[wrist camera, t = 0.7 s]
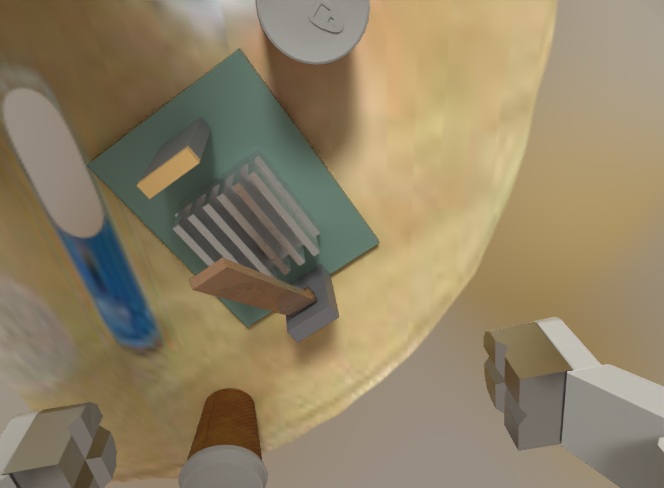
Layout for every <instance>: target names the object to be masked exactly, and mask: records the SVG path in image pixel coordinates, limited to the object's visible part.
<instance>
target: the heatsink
mask: <svg viewBox="0 0 664 488" xmlns="http://www.w3.org/2000/svg"><path fill="white" fill-rule="evenodd" d="M175 216H176V217H177V218H176V220H175V223H174V226H173V230H174V231H175V232H176V233H177V234H178V235H179V236H180V237H181V238H182V239H183V240H184V241H185V242H186V243H187V244H188V246H189V247H190V248H191V249H192V250H193V251H194V252H195V253H196V254H197V255H198V256H199V257H200V258H201V259H202V260H203V261H204V262H205V263H206V264H207V265H208V266H211V265H212V264H214V263H215V262H217V261H218V260H220V259H221V258H222V257H223V258H225V259H228V260H230V261H233V262H235V263H238V264H240V265H243V266H245V267H248V268H250V269H253V270H255V271H258V272H260V273H263V274H265V275H268V276H270V277H273V278H275V279H277V267H278V268H279V269H280V270H281V272H282V273H283V274H284V275H286V274H288V273H289V272H291V269H290V257H289V255H290V256H291V257H292V258H293V259H294V260H295V262H296V263H297V264H298V265H299V266H300V265H302V264H303V263H305V257H304V250H303V245H305V246H306V248H307V249H308V250H309V251H310V252H311V254H312V255H313V256H315V255H317V254H318V253H320V251H319V245H318V240H317V235H319V234H320V230H319V225H318V222H317V221H316V220H315V218H314V217H313V216H312V214H311V213H310V212H309V211H308V209H307V208H306V207H305V206H304V204H303V203H302V202H301V200H300V199H299V198H298V197H297V195H296V194H295V193H294V191H293V190H292V189H291V188H290V186H289V185H288V184H287V183H286V181H285V180H284V179H283V177H282V176H281V175H280V174H279V172H278V171H277V170H276V169H275V167H274V166H273V165H272V163H271V162H270V161H269V160H268V158H267V157H266V156H265V154H264V153H263V152H262V151H261V149H260V148H258V149H256V150H255V151H253V152H252V153H251V154H249V155H248V156H246V157H245V158H244V159H242V160H241V161H239V162H238V163H237V164H235V165H234V166H232V167H231V168H230V169H228V170H227V171H225V172H224V173H223V174H221V175H220V176H218V177H217V178H216V179H214V180H213V181H211V182H210V183H209V184H207V185H206V186H204V187H203V188H202V189H200V190H199V191H197V192H196V193H195V194H193V195H192V196H190V197H189V198H188V199H186V200H185V201H183V202H182V203H180V204H179V205H178V208H177V210H176V213H175Z"/></svg>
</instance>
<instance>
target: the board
mask: <svg viewBox="0 0 664 488" xmlns="http://www.w3.org/2000/svg"><path fill="white" fill-rule="evenodd" d="M258 148H260V149H261V151H262V152H263V153H264V154H265V156H266V157H267V158H268V160H269V161H270V162H271V163H272V165H273V166H274V167H275V169H276V170H277V171H278V172H279V174H280V175H281V176H282V177H283V179H284V180H285V181H286V183H287V184H288V185H289V186H290V188H291V189H292V190H293V191H294V193H295V194H296V195H297V197H298V198H299V199H300V200H301V202H302V203H303V204H304V206H305V207H306V208H307V209H308V211H309V212H310V213H311V214H312V216H313V217H314V218H315V220H316V221H317V222H318V225H319V230H320V234H319V235H317V240H318V245H319V251H320V253H318V254H317V255H315V256H313V255H312V254H311V252H310V251H309V250H308V249H307V248H306V246H305V245H303V250H304V257H305V263H303V264H302V265H300V266H299V265H298V264H297V263H296V262H295V260H294V259H293V258H292V257H291V256H290V255H289V257H290V269H291V272H289V273H288V274H286V275H284V274H283V273H282V272H281V270H280V269H279V268H278V267H277V279H278V280H280V281H283V282H285V283H288V284H290V285H293V286H295V287H298V288H300V289H304V288H306V287H307V286H309V287H310V288H311V289H312V290H313V292H314V293H315V295H316V298H317V300H316V301H314V302H313V303H311V304H310V305H308V306H306V307H305V308H303V309H302V310H300V311H299V312H297V313H295V314H294V315H292V316H289V315H286V320H287V332H288V333H289V334H290V335H291V336H292V338H293V339H294V340H295V341H296V342H297V343H298V342H300V341H301V340H303V339H304V338H306V337H308V336H309V335H311V334H313V333H314V332H316V331H317V330H319V329H321V328H322V327H324V326H325V325H327V324H329V323H330V322H332V321H333V320H335V319H337V318H338V317H339V313H338V308H337V303H336V299H335V294H334V290H333V285H332V280H331V276H330V274H331V273H333V272H335V271H336V270H338V269H339V268H341V267H342V266H344V265H345V264H347V263H349V262H350V261H352V260H353V259H355V258H356V257H358V256H360V255H361V254H363V253H364V252H366V251H367V250H369V249H370V248H372V247H374V246H375V245H377V244H378V243H380V242H379V240H378V238H377V237H376V235H375V234H374V233H373V231H372V230H371V228H370V227H369V226H368V224H367V223H366V222H365V220H364V219H363V217H362V216H361V215H360V213H359V212H358V210H357V209H356V208H355V206H354V205H353V204H352V202H351V201H350V199H349V198H348V197H347V195H346V194H345V193H344V191H343V190H342V188H341V187H340V186H339V184H338V183H337V182H336V180H335V179H334V177H333V176H332V175H331V173H330V172H329V170H328V169H327V168H326V166H325V165H324V164H323V162H322V161H321V159H320V158H319V157H318V155H317V154H316V153H315V151H314V150H313V148H312V147H311V146H310V144H309V143H308V142H307V140H306V139H305V137H304V136H303V135H302V133H301V132H300V131H299V129H298V128H297V126H296V125H295V124H294V122H293V121H292V119H291V118H290V117H289V115H288V114H287V113H286V111H285V110H284V108H283V107H282V106H281V104H280V103H279V102H278V100H277V99H276V97H275V96H274V95H273V93H272V92H271V91H270V89H269V88H268V86H267V85H266V84H265V82H264V81H263V79H262V78H261V77H260V75H259V74H258V73H257V71H256V70H255V68H254V67H253V66H252V64H251V63H250V62H249V60H248V59H247V57H246V56H245V55H244V53H243V52H242V51H241V49H240V48H239V49H238V50H236V51H235V52H234V53H232V54H231V55H230V56H229V57H227V58H226V59H225V60H223V61H222V62H221V63H219V64H218V65H217V66H215V67H214V68H213V69H211V70H210V71H209V72H208V73H206V74H205V75H204V76H202V77H201V78H200V79H198V80H197V81H196V82H194V83H193V84H192V85H191V86H189V87H188V88H187V89H185V90H184V91H183V92H181V93H180V94H179V95H177V96H176V97H175V98H173V99H172V100H171V101H170V102H168V103H167V104H166V105H164V106H163V107H162V108H160V109H159V110H158V111H156V112H155V113H154V114H152V115H151V116H150V117H149V118H147V119H146V120H145V121H143V122H142V123H141V124H139V125H138V126H137V127H135V128H134V129H133V130H132V131H130V132H129V133H128V134H126V135H125V136H124V137H122V138H121V139H120V140H118V141H117V142H116V143H114V144H113V145H112V146H111V147H109V148H108V149H107V150H105V151H104V152H103V153H101V154H100V155H99V156H97V157H96V158H95V159H94V160H92V161H91V162H90V163H89V164H88V165H87V166H88V167H89V168H90V169H91V170H92V171H93V172H94V173H95V174H96V175H97V176H98V177H99V178H100V179H101V180H102V181H103V182H104V183H105V184H106V185H107V186H108V187H109V188H110V189H111V190H112V191H113V192H114V193H115V194H116V195H117V196H118V197H119V198H120V199H121V200H122V201H123V202H124V203H125V204H126V205H127V206H128V207H129V208H130V209H131V210H132V211H133V212H134V213H135V214H136V215H137V216H138V217H139V218H140V219H141V220H142V221H143V222H144V223H145V224H146V225H147V226H148V227H149V228H150V229H151V230H152V231H153V232H154V233H155V234H156V235H157V236H158V237H159V238H160V239H161V240H162V242H163V243H164V244H165V245H166V246H167V247H168V248H169V249H170V250H171V251H172V252H173V253H174V254H175V255H176V256H177V257H178V258H179V259H180V260H181V261H182V262H183V263H184V264H185V265H186V266H187V267H188V268H189V269H190V270H191V271H192V272H193V273H194V274H195V275H197V274H199V273H200V272H202V271H203V270H205V269H206V268H208V267H209V266H208V265H207V264H206V263H205V262H204V261H203V260H202V259H201V258H200V257H199V256H198V255H197V254H196V253H195V252H194V251H193V250H192V249H191V248H190V247H189V246H188V244H187V243H186V242H185V241H184V240H183V239H182V238H181V237H180V236H179V235H178V234H177V233H176V232H175V231H174V230H173V226H174V223H175V220H176V218H177V217H176V216H175V213H176V210H177V208H178V205H179V204H180V203H182V202H183V201H185V200H186V199H188V198H189V197H190V196H192V195H193V194H195V193H196V192H197V191H199V190H200V189H202V188H203V187H204V186H206V185H207V184H209V183H210V182H211V181H213V180H214V179H216V178H217V177H218V176H220V175H221V174H223V173H224V172H225V171H227V170H228V169H230V168H231V167H232V166H234V165H235V164H237V163H238V162H239V161H241V160H242V159H244V158H245V157H246V156H248V155H249V154H251V153H252V152H253V151H255V150H256V149H258ZM218 298H219V299H220V300H221V301H222V302H223V303H224V304H225V305H226V306H227V307H228V308H229V309H230V310H231V311H232V312H233V313H234V314H235V315H236V316H237V317H238V318H239V319H240V320H241V321H242V322H243V323H244V324H245V325H246V326H247V327H249V326H250V325H252V324H253V323H255V322H256V321H258V320H260V319H261V318H263V317H264V316H266V315H267V314H269V313H270V312H272V311H269V310H266V309H262V308H258V307H255V306H251V305H247V304H243V303H240V302H236V301H232V300H229V299H225V298H221V297H218Z"/></svg>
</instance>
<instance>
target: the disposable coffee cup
mask: <svg viewBox="0 0 664 488" xmlns="http://www.w3.org/2000/svg"><path fill="white" fill-rule="evenodd" d="M260 450H261V449H260V442H259V435H258V427H257V420H256V415H255V406H254V402H253V400H252V398H251V397H250V396H249V395H248V394H247V393H245V392H243V391H241V390H237V389H223V390H219V391H217V392H215V393H213V394H212V395H210V396H209V397H208V398H207V400H206V402H205V405H204V409H203V412H202V415H201V418H200V421H199V424H198V428H197V431H196V434H195V437H194V441H193V443H192V447H191V450H190V453H189V457H188V460H187V462H186V463H185V465H184V466H183V467H182V469H181V472H180V474H179V486H180V488H265V486H266V483H267V477H268V475H267V470H266V468H265V466H264V464H263V462H262V457H261V451H260Z"/></svg>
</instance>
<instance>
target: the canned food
mask: <svg viewBox="0 0 664 488" xmlns="http://www.w3.org/2000/svg"><path fill="white" fill-rule="evenodd" d="M256 8H257V14H258V18H259V21H260V24H261V27H262V29H263V30H264V32H265V34H266V36H267V38H268V39H269V40H270V41H271V42H272V44H273V45H274V46H275V47H276V48H277V49H278V50H280V51H281V52H282V53H283V54H285V55H286V56H288V57H290V58H292V59H293V60H296V61H299V62H302V63H306V64H314V65H317V64H327V63H330V62H333V61H336V60H338V59H340V58H342V57H344V56H345V55H347V54H348V53H349V52H350V51H351V50H353V49H354V47H355V46H356V45H357V44H358V42H359V41H360V39H361V38H362V36H363V34H364V32H365V29H366V26H367V23H368V19H369V11H370V4H369V0H256Z"/></svg>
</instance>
